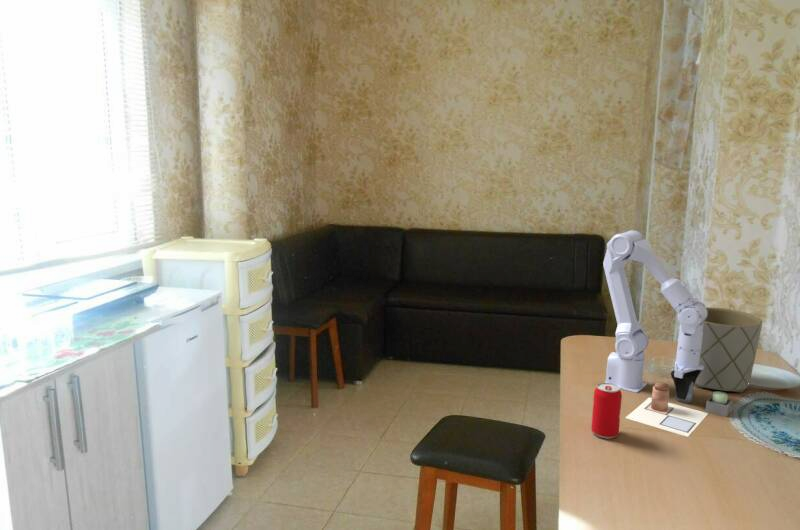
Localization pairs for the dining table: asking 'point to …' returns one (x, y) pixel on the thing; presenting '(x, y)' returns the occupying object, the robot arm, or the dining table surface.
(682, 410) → the picture sheet
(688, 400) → the blue gray jar
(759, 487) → the dining table surface
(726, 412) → the button housing
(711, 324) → the planter
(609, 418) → the beverage can
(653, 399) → the brown jar
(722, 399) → the button
